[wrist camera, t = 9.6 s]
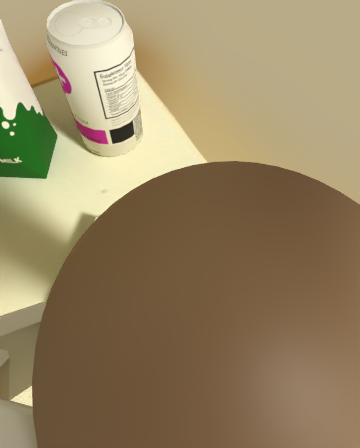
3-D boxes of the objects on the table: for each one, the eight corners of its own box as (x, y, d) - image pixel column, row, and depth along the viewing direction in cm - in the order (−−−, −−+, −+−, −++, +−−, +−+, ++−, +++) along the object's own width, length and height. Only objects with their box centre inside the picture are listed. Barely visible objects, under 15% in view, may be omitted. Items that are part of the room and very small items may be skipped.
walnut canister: (117, 392, 15) (-75, 584, 3) (146, 290, 18) (119, 129, 5) (219, 418, 15) (545, 761, 2) (234, 312, 17) (441, 204, 5)
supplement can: (83, 162, 37) (36, 52, 24) (83, 116, 41) (43, -4, 27) (145, 158, 38) (133, 48, 25) (140, 112, 42) (128, -6, 28)
